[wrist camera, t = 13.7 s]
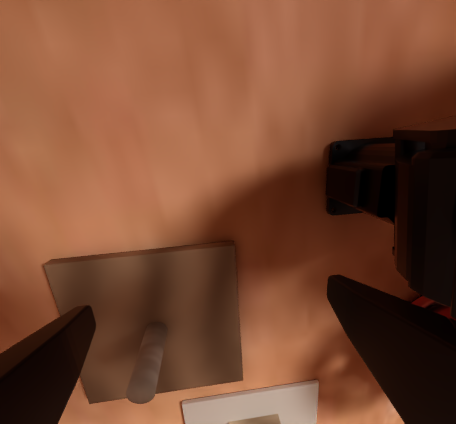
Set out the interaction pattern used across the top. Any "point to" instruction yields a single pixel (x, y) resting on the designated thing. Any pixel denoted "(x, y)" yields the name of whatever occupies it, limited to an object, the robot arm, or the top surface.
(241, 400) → the mat
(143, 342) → the post stand
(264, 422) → the collar
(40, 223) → the top surface
